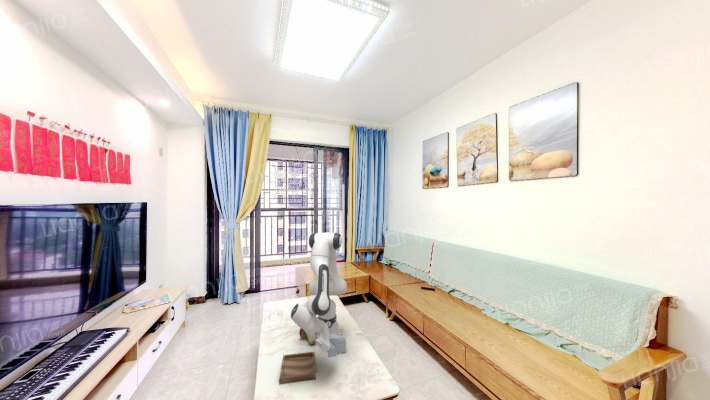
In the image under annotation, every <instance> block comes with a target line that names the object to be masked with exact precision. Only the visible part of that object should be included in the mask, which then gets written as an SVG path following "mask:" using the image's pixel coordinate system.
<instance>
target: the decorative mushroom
mask: <svg viewBox="0 0 710 400" xmlns="http://www.w3.org/2000/svg"><path fill="white" fill-rule="evenodd" d="M298 334H299V336H300V337H301V338H307V341H308V344H310V345H311V346H312V345H315V344H316V340H315V338H311V337H310V336H309V335H308V334H307V333H306V332H305V331H304V329H302V328H300V327H299V332H298Z"/></svg>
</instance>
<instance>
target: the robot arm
mask: <svg viewBox="0 0 710 400" xmlns="http://www.w3.org/2000/svg"><path fill="white" fill-rule="evenodd" d="M342 243H343V237H342V235H341V233H338V232H330V231H329V232H326V231H325V232H314V233H311V234H310V236H309V237H308V245H309V247H310V249H311V253H310V259H309V266H310V269H311V270H312V272H313V273H314V274H316V279H312V280H311V281H310V282H309V284H308V291H309V293H310V295H309V296H308V297H307V298H306V299H304V300H303V301H301V302H299V303H296V304H295V305H294V307H292V309H291V311H290V319H291V320H292V321H293V322H294V323H295V325H297V327H298V328H299V329H300V328H302V329H304V331H305V332H306V333H307V334H308V335H309V336H310V337H311V338H315V340H316V342H315V344H316V345H317V346H318V348H320V350H321V351H322V352H324V353H328V350H329V349H330V348H331V349H334V348H335V347H334V345H333V344H331V343H330V339H329V334H333V333H336V335H342V332H341V330H340V328H339V322H338V321H337V313H336V312H337V311H336V310H337V305H336V302H335V301H334V299H331V297H330V296H332V297H333V296H335V297H336V296H341V295H342V296H343V295H344V294H345V293H346V292H347V290H348V285H347V282H346V280H345V279H344V278H342V276H341V275H340V274H339V272H338V267H337V266H338V265H337V250H338V249H340V248H341V247H342V245H343V244H342Z"/></svg>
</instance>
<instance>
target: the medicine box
mask: <svg viewBox="0 0 710 400" xmlns="http://www.w3.org/2000/svg"><path fill="white" fill-rule="evenodd" d="M336 338H337V349H336V354H346V351H347V348H346V344H347V341H346V340H347V336H346V335H342V334H341V335H336Z"/></svg>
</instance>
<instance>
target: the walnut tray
mask: <svg viewBox="0 0 710 400" xmlns="http://www.w3.org/2000/svg"><path fill="white" fill-rule="evenodd" d="M314 380H316V355H315V351H309V352H299V353H290V354H283V355H282V361H281V366H280V372H279V377H278V385H284V384H291V383H298V382H300V383H301V382H304V381H305V382H307V381H314Z"/></svg>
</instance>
